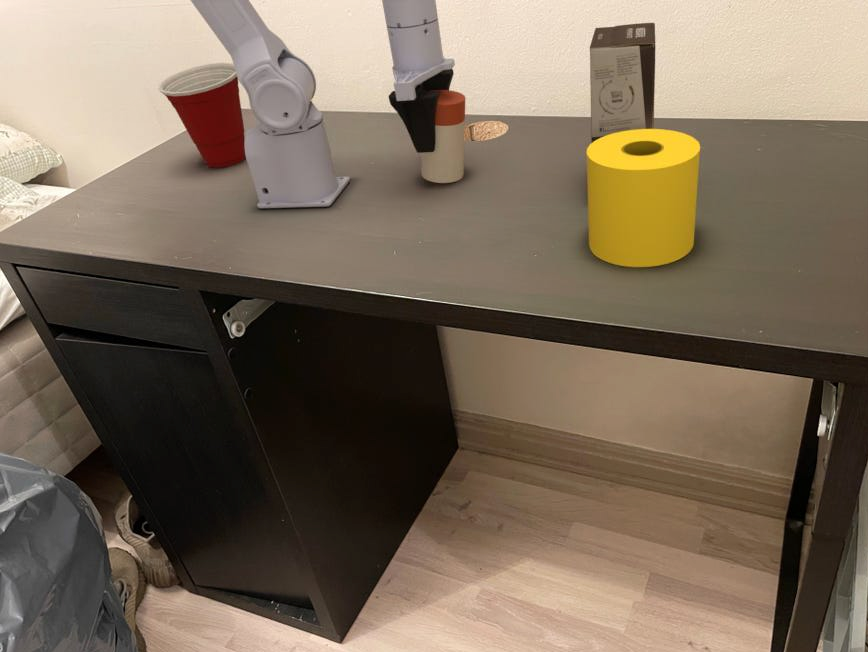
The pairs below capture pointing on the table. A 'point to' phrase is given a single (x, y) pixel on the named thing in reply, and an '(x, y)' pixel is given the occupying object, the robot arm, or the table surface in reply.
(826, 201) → the table surface
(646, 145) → the yellow paper roll
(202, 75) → the plastic cup
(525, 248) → the table surface
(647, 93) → the coffee box
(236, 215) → the table surface
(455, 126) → the container
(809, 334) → the table surface
